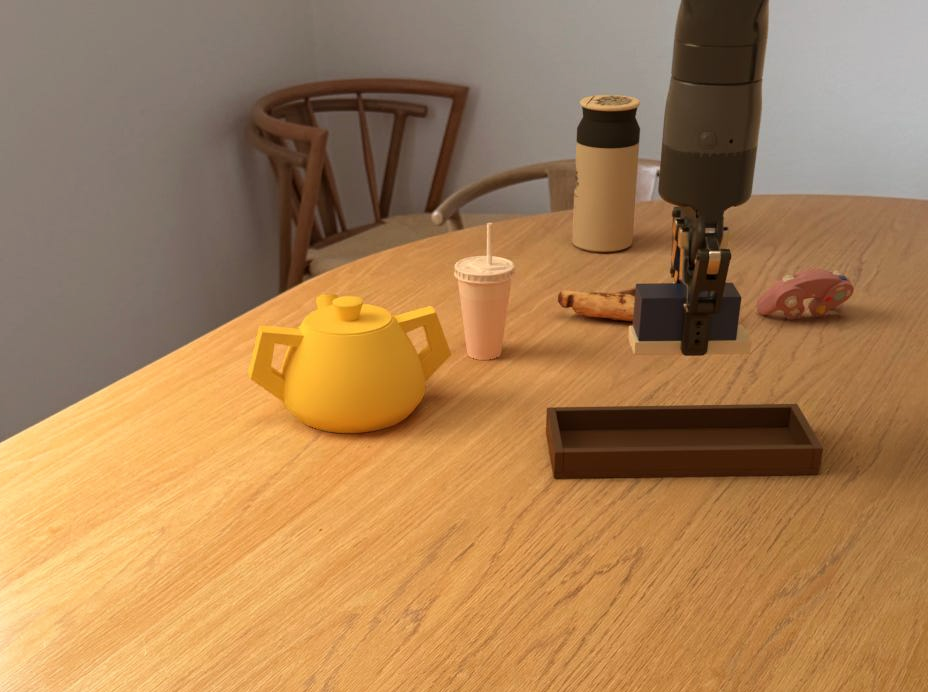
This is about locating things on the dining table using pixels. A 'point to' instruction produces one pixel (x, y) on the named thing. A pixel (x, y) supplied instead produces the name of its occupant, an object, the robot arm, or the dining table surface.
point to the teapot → (350, 364)
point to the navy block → (664, 320)
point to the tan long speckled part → (600, 303)
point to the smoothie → (484, 300)
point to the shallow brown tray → (681, 441)
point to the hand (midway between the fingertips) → (688, 343)
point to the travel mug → (606, 173)
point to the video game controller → (806, 293)
